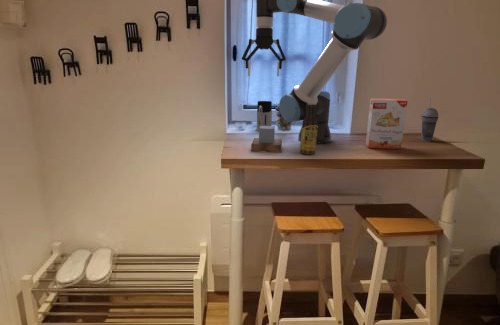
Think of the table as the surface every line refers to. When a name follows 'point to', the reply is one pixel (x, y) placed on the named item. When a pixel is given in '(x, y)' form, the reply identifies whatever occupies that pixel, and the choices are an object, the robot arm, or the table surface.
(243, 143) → the table surface
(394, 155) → the table surface
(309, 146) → the sauce bottle
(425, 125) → the beverage cup
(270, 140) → the grey cube
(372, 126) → the cracker box
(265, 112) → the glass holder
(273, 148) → the walnut base
